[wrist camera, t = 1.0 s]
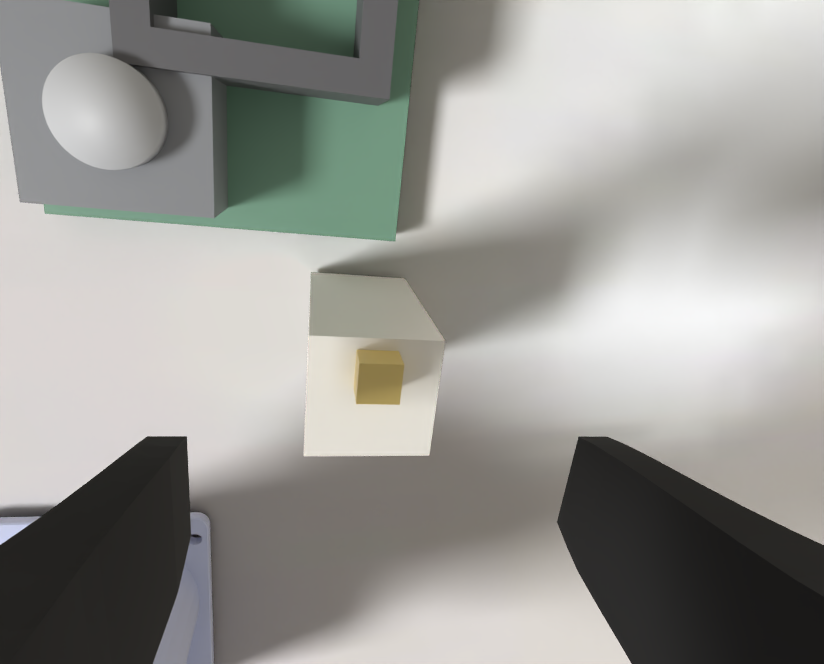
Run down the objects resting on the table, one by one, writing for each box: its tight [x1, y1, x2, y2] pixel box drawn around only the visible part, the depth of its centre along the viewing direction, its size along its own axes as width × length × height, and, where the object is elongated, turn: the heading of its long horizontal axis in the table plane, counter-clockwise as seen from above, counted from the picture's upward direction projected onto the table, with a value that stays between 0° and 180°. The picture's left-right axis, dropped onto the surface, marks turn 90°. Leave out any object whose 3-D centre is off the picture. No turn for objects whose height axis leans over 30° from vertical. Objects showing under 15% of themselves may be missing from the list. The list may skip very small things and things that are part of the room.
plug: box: [304, 272, 445, 456], centre depth 15 cm, size 3×3×7 cm
